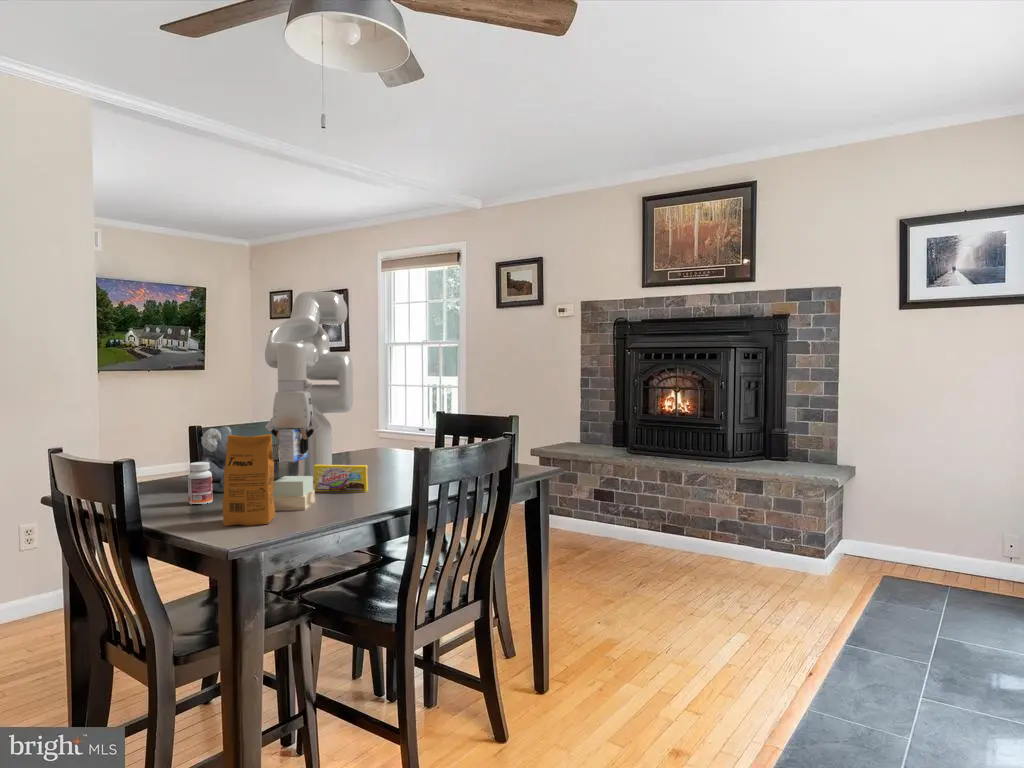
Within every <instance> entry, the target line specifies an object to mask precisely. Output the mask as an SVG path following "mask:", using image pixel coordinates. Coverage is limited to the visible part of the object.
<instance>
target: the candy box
mask: <svg viewBox="0 0 1024 768" xmlns="http://www.w3.org/2000/svg"><path fill="white" fill-rule="evenodd" d="M368 471H369V469H368V464H367V465H366V464H332V465H314V479H315V482H314V490H315V491H366V492H365V493H368V492H369V481H368V480H369V479H368V478H369V477H368V475H369V474H368V473H369V472H368ZM367 491H368V492H367Z"/></svg>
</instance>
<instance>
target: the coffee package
mask: <svg viewBox="0 0 1024 768" xmlns="http://www.w3.org/2000/svg"><path fill="white" fill-rule="evenodd" d="M272 436H273V434H272V433H271V434H261V435H254V436H253V435H252V436H242V435H236V434H234V435H233V434H232V435H228V442H227V447H226V465H225V469H224V492H223V497H222V523H223V526H225V527H229V526H237V525H238V526H239V525H240V526H244V527H252V526H253V527H254V526H258V525H259V526H262V525H267V524H269V523H271V521H272V520H273V519H274V518H275V517H276V510H275V507H274V501H273V496H274V481H275V472H274V471H275V461H274V455H273V451H274V449H273V437H272Z"/></svg>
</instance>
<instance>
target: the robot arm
mask: <svg viewBox="0 0 1024 768" xmlns="http://www.w3.org/2000/svg"><path fill="white" fill-rule="evenodd" d="M347 319H348V305H347V303H346V301H345V300H344V298H343V297H342V296H341V295H340V294H339V293H337V292H335V291H304V292H301V293H299V294H298V295H297V296H296V297H295V298H294V302H293V304H292V311H291V313H290V318H289V319H287V320H286V321H284V322H282V323H280V324H279V325H276V327H275V328H274V329H273V330H271V332H270V333H269V335H268V338H267V342H266V345H265V348H264V349H265V350H264V360H265V362H266V363H265V364H267V365H268V366H269V367H270V368H273V369H277V392H275V394H274V400H273V405H272V406H273V408H272V418H270V420H269V421H268V422H267V423H266V425H264V426H265V429H266V430H268V432H270V433H271V435H272V436H274V438H276V440H277V450H278V451H279V431H280V430H284V429H300V431H301V434H302V440H301V454H305V453H307V458H305V459H302V460H301V461H302V462H301V463H302V474H299V475H298V476H313V483H315V479H314V465H333V447H332V445H333V443H332V442H333V441H332V440H333V439H332V436H333V435H332V434H333V433H332V425H331V422H330V421H329V420H328V418H327V417H326V416H325V415H324V414H335V413H337V414H339V413H340V414H341V413H348V412H350V411H351V410H352V408H353V405H354V404H353V402H354V387H353V386H354V385H353V384H354V383H353V381H354V379H353V375H354V372H353V361H352V358H351V355H349V354H348V353H347V352H342V351H330V350H331V349H330V342H331V341H330V336H329V334H328V333H327V331H326V330H325V329H324V328H323V327H322V326H321V325H343V324H344V323H345V322H346V321H347ZM308 380H310V381H337V382H338V384H328V383H327V384H325V383H324V384H323V383H322V384H318V383H317V384H316V383H315V384H312V382H308Z"/></svg>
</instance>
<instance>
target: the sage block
mask: <svg viewBox="0 0 1024 768" xmlns="http://www.w3.org/2000/svg"><path fill="white" fill-rule="evenodd" d="M273 487H274V491H273V496H304V495H306V494H308V493H309V492H311V491H313V490H314V482H313V476H299V475H290V476H289V475H284V476H282V477H280V478H278V479H276V480H274V484H273Z"/></svg>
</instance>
